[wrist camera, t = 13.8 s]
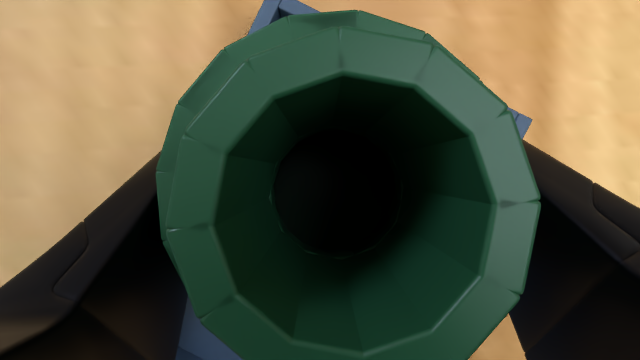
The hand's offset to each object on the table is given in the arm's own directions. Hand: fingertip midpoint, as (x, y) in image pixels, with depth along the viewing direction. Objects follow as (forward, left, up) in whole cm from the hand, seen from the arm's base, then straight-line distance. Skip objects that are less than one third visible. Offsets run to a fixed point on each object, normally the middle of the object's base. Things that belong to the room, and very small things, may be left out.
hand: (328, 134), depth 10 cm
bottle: (-1, +1, -7) cm, 7 cm away
